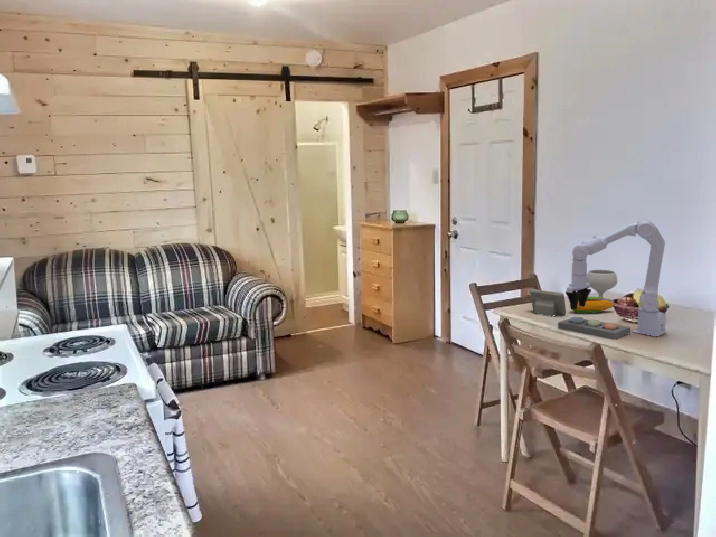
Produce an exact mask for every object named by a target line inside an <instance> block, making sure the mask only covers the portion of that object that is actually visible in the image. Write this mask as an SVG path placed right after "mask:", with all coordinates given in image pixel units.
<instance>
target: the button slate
mask: <svg viewBox="0 0 716 537" xmlns="http://www.w3.org/2000/svg"><path fill="white" fill-rule="evenodd" d="M571 318H572V323H577V324H582V323H583V319H584V318H583V317H581V316H572V317H571Z"/></svg>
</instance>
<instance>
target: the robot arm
mask: <svg viewBox="0 0 716 537" xmlns="http://www.w3.org/2000/svg"><path fill="white" fill-rule="evenodd" d="M637 235H638V236H639V237H640V238H642V239H643V240H644V241H645V240H646V242H647V243H648V244H649V245H650V250H649V258H648V262H647V263H648V264H647V270H646V274H645V275H646V276H645V277H646V278H645V283H644V287H643V292H641V294H640V296H639V303H640V306H639V307H638V308H637V309H638V310H637V312H638V313H637V326H636V327H637V329H634V330H632V332H633V333H634V334H641V335H645V334H646V335H647V336H650V335H651V336H652V337H656V336H657V337H659V336H662V335H664V334H666V333H667V332H666V320H667V318H666V317H667V316H666V313H664V312H661V311H660V310H659V305H660V303H659V300H658V293H659V292H658V290H659V289H658V288H659V284H660V283H659V282H660V276H661V271H662V270H661V269H662V264H663V257H664V251H665V246H666V242H665V239H664V238H663V236H662V234H661V232H660V231H659V229H658V227H657V226H656V224H654V223H653V222H652V221H650V220H648V219H640V220H639V221H635V222H632V223H629V224H627V225H625V226H623V227H620V228H619V229H617V230H615V231H613V232H610V233H608V234H606V235H605V236H603V235H593V236H592V238H591V239H588V240H586V241H581V244H576V245H575V246H574V247H573V249H572V252H571V255H572V259H571V260H572V263H571V282H570V284H568V286H567V287H566V291H565V294H566V296H567V298H568V300H569V307H570V306H571V308H570V310H572V309H577V305H578V299H579V306H582V307H585V304H586V301H587V298H588V297H589V295H590V294H591V292H592V288H591V287H590V283H586V280H587V274H588V263H587V257H588V256H592V255H594V254H596V253H598V252H600V251H604V250H606V249H607V246H608V244H610V243H613V242H615V241H618V240H620V239H622V238H624V237H628V236H630V237H637Z"/></svg>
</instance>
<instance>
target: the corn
mask: <svg viewBox="0 0 716 537" xmlns="http://www.w3.org/2000/svg"><path fill="white" fill-rule="evenodd" d="M597 298H604V296H603V297H599V296H588V298H587V301H586V304H585V307H582V306H579V299H578V305H577V309H571V306H570V305H569V308H570V309H571V310H572V311H573V312H575V313H576V314H599V313H602V311H606V310H609V309H612V308H613V307H614V306H613V304H614V303H612V302H610V301H607V300H608V299H607V300H599V299H597Z"/></svg>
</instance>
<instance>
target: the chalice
mask: <svg viewBox="0 0 716 537" xmlns="http://www.w3.org/2000/svg"><path fill="white" fill-rule="evenodd" d="M586 283H590V289H593V290H594V291H595V292H597V294H598V297H603V298H596V299H599V300H607V301H610V302H612V301H613V300H611V299H607V298H604V294H605V293H606V292H607V291H610V290H612V289H613V288H615V287H616V286H617V285H618V276H617V273H616V272H615V271H614V270H611V269H610V270H609V269H591V270H589V271H587V280H586Z"/></svg>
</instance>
